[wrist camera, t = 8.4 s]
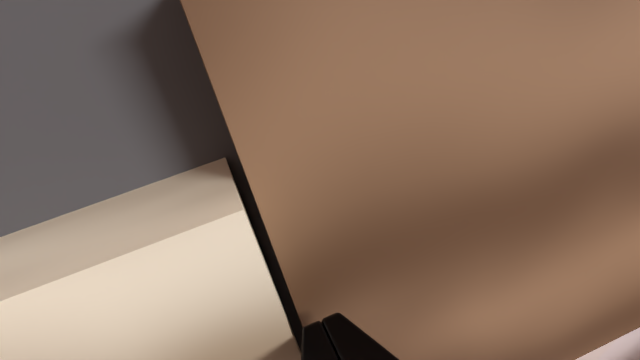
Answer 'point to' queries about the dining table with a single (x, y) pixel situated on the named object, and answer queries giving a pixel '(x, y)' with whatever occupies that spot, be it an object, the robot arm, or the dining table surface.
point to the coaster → (145, 279)
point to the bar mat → (107, 111)
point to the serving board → (442, 164)
